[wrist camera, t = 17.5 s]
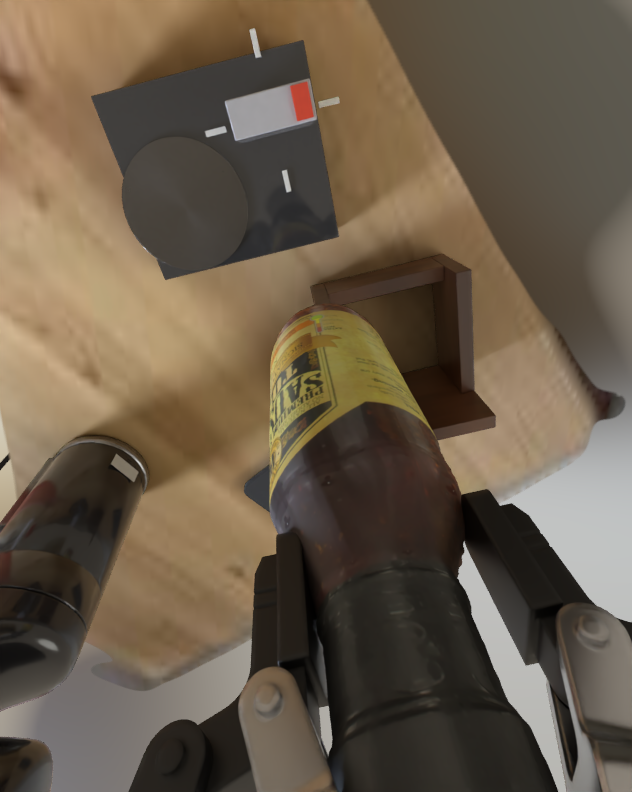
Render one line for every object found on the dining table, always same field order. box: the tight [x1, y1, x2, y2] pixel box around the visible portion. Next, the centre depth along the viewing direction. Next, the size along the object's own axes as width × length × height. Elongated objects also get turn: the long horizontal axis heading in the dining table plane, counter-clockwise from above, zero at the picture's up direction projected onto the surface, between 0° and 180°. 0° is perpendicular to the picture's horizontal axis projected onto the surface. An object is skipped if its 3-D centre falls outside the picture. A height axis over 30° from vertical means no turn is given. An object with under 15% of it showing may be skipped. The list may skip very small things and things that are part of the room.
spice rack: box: [310, 254, 496, 440], centre depth 35 cm, size 12×12×10 cm
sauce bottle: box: [270, 303, 558, 792], centre depth 15 cm, size 7×6×20 cm
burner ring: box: [122, 137, 248, 270], centre depth 30 cm, size 9×9×1 cm
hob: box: [91, 28, 340, 280], centre depth 30 cm, size 16×13×3 cm
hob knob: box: [225, 78, 317, 143], centre depth 26 cm, size 5×2×5 cm, turn 103°
